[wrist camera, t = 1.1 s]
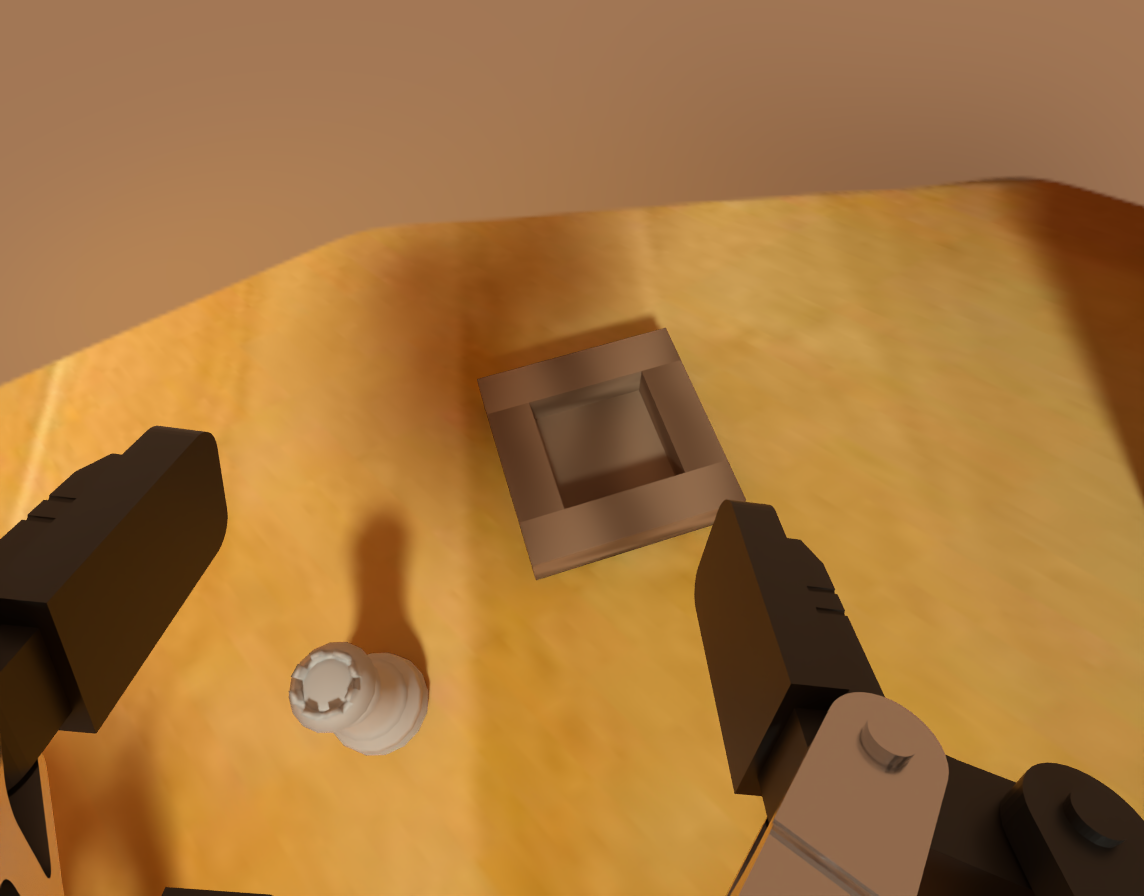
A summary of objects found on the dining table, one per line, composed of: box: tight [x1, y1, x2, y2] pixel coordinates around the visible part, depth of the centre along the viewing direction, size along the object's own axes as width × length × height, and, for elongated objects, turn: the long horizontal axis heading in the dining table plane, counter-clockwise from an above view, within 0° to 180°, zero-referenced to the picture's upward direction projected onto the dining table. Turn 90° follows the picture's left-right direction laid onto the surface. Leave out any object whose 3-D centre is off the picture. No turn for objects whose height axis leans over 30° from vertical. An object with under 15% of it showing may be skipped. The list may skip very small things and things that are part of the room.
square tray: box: [477, 328, 746, 580], centre depth 36 cm, size 11×11×2 cm
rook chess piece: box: [289, 642, 428, 755], centre depth 28 cm, size 4×4×8 cm
